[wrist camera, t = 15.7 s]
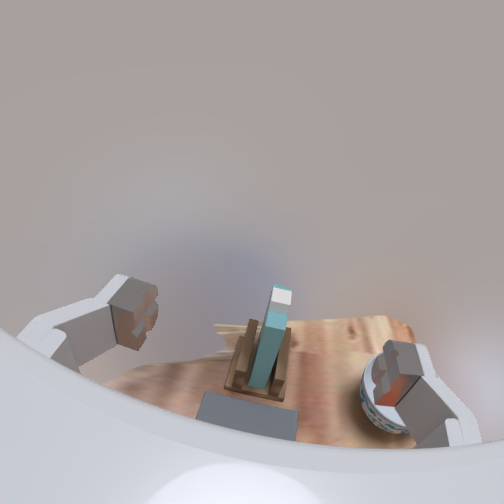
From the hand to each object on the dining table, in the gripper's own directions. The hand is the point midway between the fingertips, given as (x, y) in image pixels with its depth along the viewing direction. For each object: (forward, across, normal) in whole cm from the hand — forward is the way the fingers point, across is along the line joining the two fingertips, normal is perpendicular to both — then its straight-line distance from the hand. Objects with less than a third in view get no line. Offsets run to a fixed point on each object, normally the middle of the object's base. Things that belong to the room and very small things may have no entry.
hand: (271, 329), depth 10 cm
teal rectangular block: (+24, -2, +31) cm, 39 cm away
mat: (+11, -2, +32) cm, 34 cm away
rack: (+24, -2, +32) cm, 40 cm away
